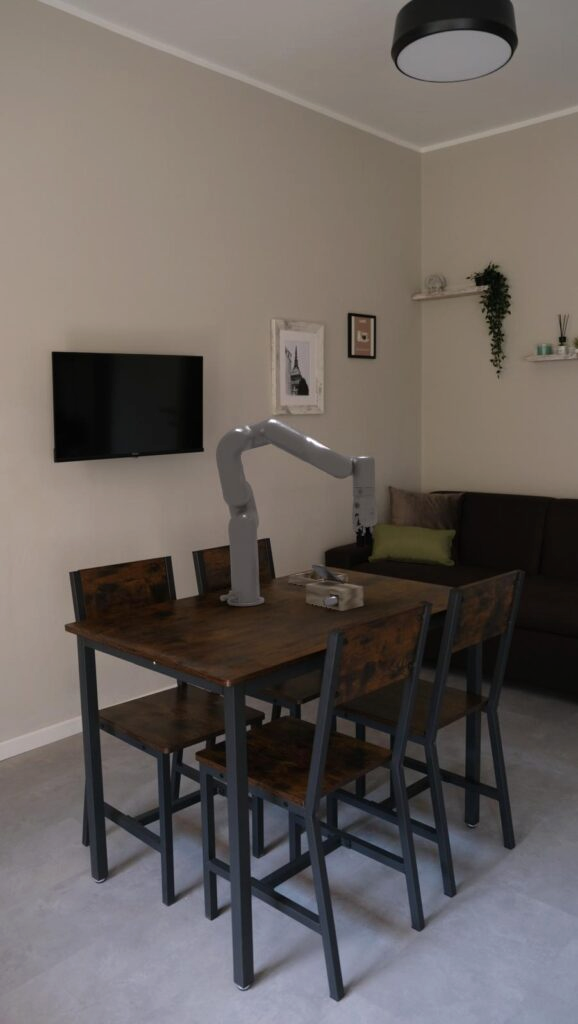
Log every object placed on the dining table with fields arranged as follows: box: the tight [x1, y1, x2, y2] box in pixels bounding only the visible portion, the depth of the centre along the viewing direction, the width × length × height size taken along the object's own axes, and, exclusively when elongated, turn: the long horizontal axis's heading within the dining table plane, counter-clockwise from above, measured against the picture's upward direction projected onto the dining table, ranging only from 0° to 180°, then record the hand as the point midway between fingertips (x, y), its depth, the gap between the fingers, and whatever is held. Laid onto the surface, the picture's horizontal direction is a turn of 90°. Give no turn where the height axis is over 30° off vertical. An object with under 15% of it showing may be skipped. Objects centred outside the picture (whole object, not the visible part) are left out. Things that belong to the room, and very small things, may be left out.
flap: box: [311, 564, 342, 583], centre depth 281 cm, size 9×7×1 cm
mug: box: [310, 563, 326, 580], centre depth 317 cm, size 8×10×10 cm
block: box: [305, 579, 364, 612], centre depth 278 cm, size 10×17×8 cm, turn 42°
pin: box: [323, 595, 339, 608], centre depth 274 cm, size 15×4×4 cm, turn 132°
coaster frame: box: [287, 570, 349, 587], centre depth 316 cm, size 16×15×3 cm
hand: (364, 545), depth 281 cm, fingers open, 4 cm apart
